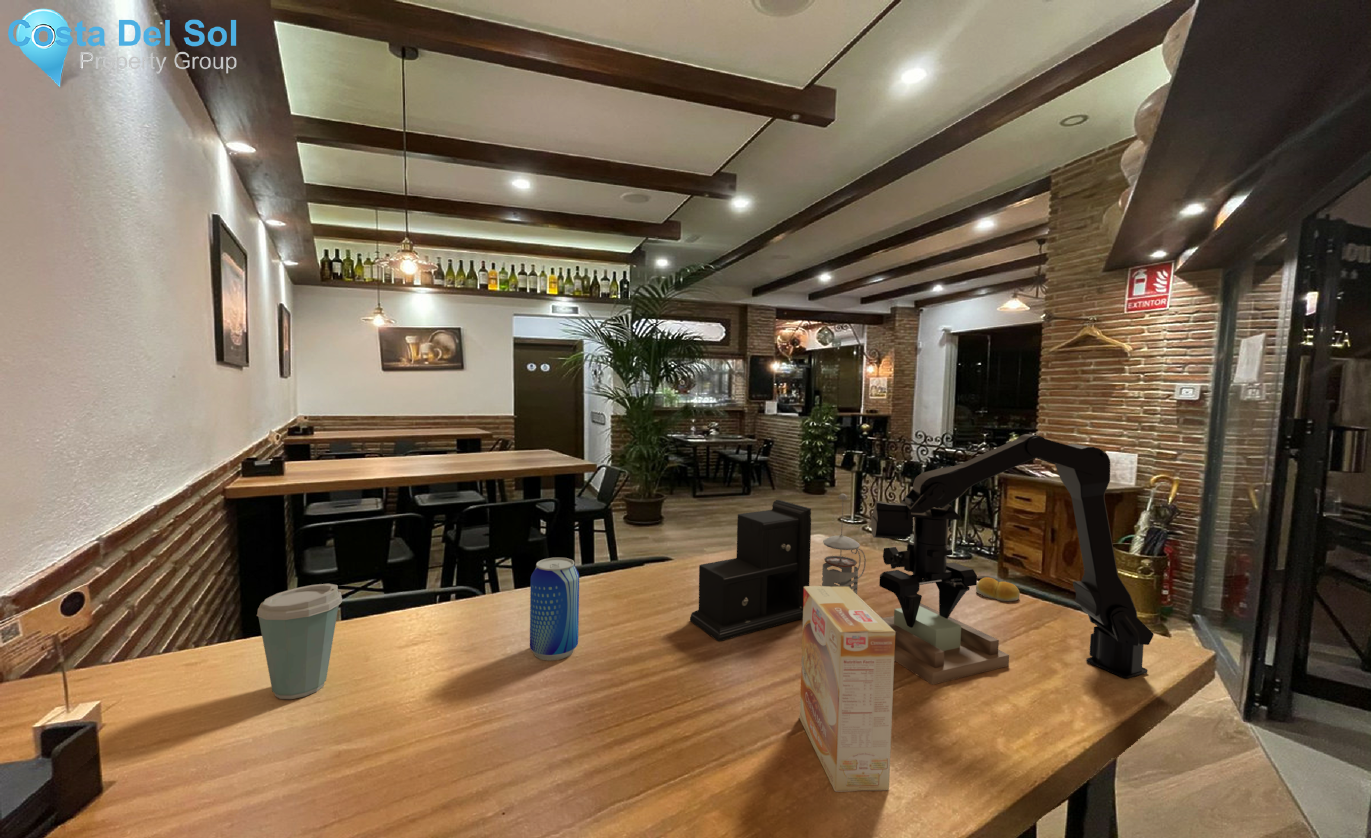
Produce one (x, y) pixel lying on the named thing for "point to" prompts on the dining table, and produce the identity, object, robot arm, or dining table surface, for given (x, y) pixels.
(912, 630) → the pale green block
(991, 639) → the brown wooden stand
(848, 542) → the french press
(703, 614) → the black drawer cabinet
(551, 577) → the beer can
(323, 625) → the disposable coffee cup
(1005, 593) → the bread roll
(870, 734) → the coffeecake box
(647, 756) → the dining table surface
